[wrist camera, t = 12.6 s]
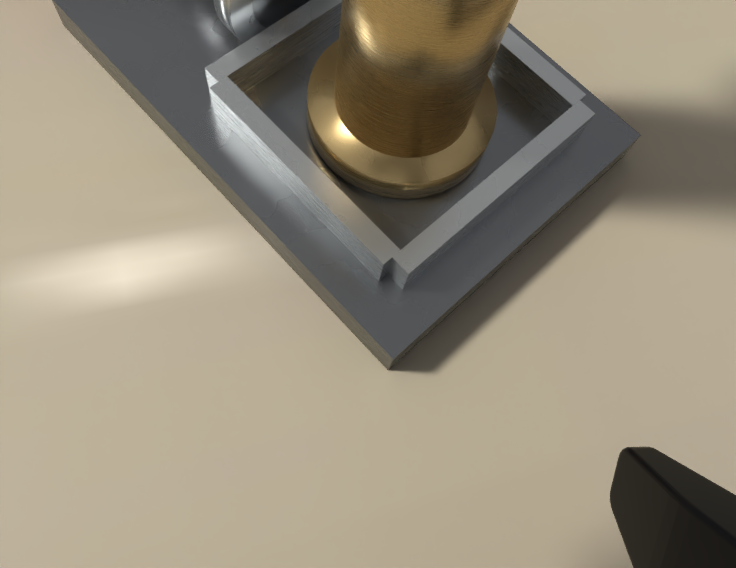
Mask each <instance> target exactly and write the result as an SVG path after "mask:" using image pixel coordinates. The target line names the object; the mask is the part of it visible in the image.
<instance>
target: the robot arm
mask: <svg viewBox="0 0 736 568" xmlns="http://www.w3.org/2000/svg"><path fill="white" fill-rule="evenodd" d="M610 503H611V508H612V511H613V514H614V516H615V519H616V522H617V524H618V527H619V530H620V533H621V535H622V538H623V541H624V543H625V546H626V549H627V552H628V554H629V557H630V560H631V562H632V565H633V568H736V495H734V494H733V493H731V492H729V491H727V490H726V489H724V488H722V487H720V486H719V485H717V484H715V483H713V482H712V481H710V480H708V479H707V478H705V477H703V476H701V475H700V474H698V473H696V472H694V471H693V470H691V469H689V468H687V467H686V466H684V465H682V464H680V463H679V462H677V461H675V460H673V459H672V458H670V457H668V456H667V455H665V454H663V453H661V452H660V451H658V450H656V449H654V448H652V447H627V448H625V449H623V450H622V451H621V453H620V455H619V458H618V462H617V466H616V470H615V474H614V478H613V482H612V486H611V491H610Z"/></svg>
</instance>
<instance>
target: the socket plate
mask: <svg viewBox="0 0 736 568" xmlns="http://www.w3.org/2000/svg"><path fill="white" fill-rule="evenodd" d="M52 1H53V3H54V5H55V8H56V10H57V12H58V14H59V16H60V18H61V20H62V23H63V25H64V26H65V27H66V28H67V29H68V30H69V31H70V32H71V34H72V35H73V36H74V37H75V38H76V39H77V40H78V41H79V42H80V43H81V44H82V45H83V46H84V47H85V48H86V49H87V51H88V52H89V53H90V54H91V55H92V56H93V57H94V58H95V59H96V60H97V61H98V62H99V63H100V64H101V65H102V67H103V68H104V69H105V70H106V71H107V72H108V73H109V74H110V75H111V76H112V77H113V78H114V79H115V80H116V81H117V82H118V84H119V85H120V86H121V87H122V88H123V89H124V90H125V91H126V92H127V93H128V94H129V95H130V96H131V97H132V98H133V99H134V101H135V102H136V103H137V104H138V105H139V106H140V107H141V108H142V109H143V110H144V111H145V112H146V113H147V114H148V115H149V116H150V118H151V119H152V120H153V121H154V122H155V123H156V124H157V125H158V126H159V127H160V128H161V129H162V130H163V131H164V132H165V134H166V135H167V136H168V137H169V138H170V139H171V140H172V141H173V142H174V143H175V144H176V145H177V146H178V147H179V148H180V149H181V151H182V152H183V153H184V154H185V155H186V156H187V157H188V158H189V159H190V160H191V161H192V162H193V163H194V164H195V165H196V166H197V168H198V169H199V170H200V171H201V172H202V173H203V174H204V175H205V176H206V177H207V178H208V179H209V180H210V181H211V182H212V183H213V185H214V186H215V187H216V188H217V189H218V190H219V191H220V192H221V193H222V194H223V195H224V196H225V197H226V198H227V199H228V200H229V202H230V203H231V204H232V205H233V206H234V207H235V208H236V209H237V210H238V211H239V212H240V213H241V214H242V215H243V216H244V218H245V219H246V220H247V221H248V222H249V223H250V224H251V225H252V226H253V227H254V228H255V229H256V230H257V231H258V232H259V233H260V235H261V236H262V237H263V238H264V239H265V240H266V241H267V242H268V243H269V244H270V245H271V246H272V247H273V248H274V249H275V250H276V252H277V253H278V254H279V255H280V256H281V257H282V258H283V259H284V260H285V261H286V262H287V263H288V264H289V265H290V266H291V267H292V269H293V270H294V271H295V272H296V273H297V274H298V275H299V276H300V277H301V278H302V279H303V280H304V281H305V282H306V283H307V285H308V286H309V287H310V288H311V289H312V290H313V291H314V292H315V293H316V294H317V295H318V296H319V297H320V298H321V299H322V300H323V302H324V303H325V304H326V305H327V306H328V307H329V308H330V309H331V310H332V311H333V312H334V313H335V314H336V315H337V316H338V317H339V319H340V320H341V321H342V322H343V323H344V324H345V325H346V326H347V327H348V328H349V329H350V330H351V331H352V332H353V333H354V334H355V336H356V337H357V338H358V339H359V340H360V341H361V342H362V343H363V344H364V345H365V346H366V347H367V348H368V349H369V350H370V352H371V353H372V354H373V355H374V356H375V357H376V358H377V359H378V360H379V361H380V362H381V363H382V364H383V365H384V366H385V367H386V369H387V370H388V369H390V368H391V367H392V366H393V365H394V364H395V363H396V362H397V361H398V360H399V359H401V358H402V357H403V356H404V355H405V354H406V353H407V352H408V351H409V350H410V349H412V348H413V347H414V346H415V345H416V344H417V343H418V342H419V341H420V340H421V339H423V338H424V337H425V336H426V335H427V334H428V333H429V332H430V331H431V330H432V329H434V328H435V327H436V326H437V325H438V324H439V323H440V322H441V321H442V320H443V319H445V318H446V317H447V316H448V315H449V314H450V313H451V312H452V311H453V310H454V309H456V308H457V307H458V306H459V305H460V304H461V303H462V302H463V301H464V300H465V299H467V298H468V297H469V296H470V295H471V294H472V293H473V292H474V291H475V290H476V289H478V288H479V287H480V286H481V285H482V284H483V283H484V282H485V281H486V280H487V279H489V278H490V277H491V276H492V275H493V274H494V273H495V272H496V271H497V270H498V269H500V268H501V267H502V266H503V265H504V264H505V263H506V262H507V261H508V260H509V259H511V258H512V257H513V256H514V255H515V254H516V253H517V252H518V251H519V250H520V249H522V248H523V247H524V246H525V245H526V244H527V243H528V242H529V241H530V240H531V239H533V238H534V237H535V236H536V235H537V234H538V233H539V232H540V231H541V230H542V229H544V228H545V227H546V226H547V225H548V224H549V223H550V222H551V221H552V220H553V219H555V218H556V217H557V216H558V215H559V214H560V213H561V212H562V211H563V210H564V209H566V208H567V207H568V206H569V205H570V204H571V203H572V202H573V201H574V200H575V199H577V198H578V197H579V196H580V195H581V194H582V193H583V192H584V191H585V190H586V189H588V188H589V187H590V186H591V185H592V184H593V183H594V182H595V181H596V180H597V179H599V178H600V177H601V176H602V175H603V174H604V173H605V172H606V171H607V170H608V169H610V168H611V167H612V166H613V165H614V164H615V163H616V162H617V161H618V160H619V159H621V158H622V157H623V156H624V155H625V154H626V152H627V151H628V150H629V149H630V147H631V146H632V145H633V144H634V143H635V141H636V140H637V139H638V138H639V137H640V134H639V133H637V132H636V131H635V130H634V129H633V128H632V127H630V126H629V125H628V124H627V123H626V122H625V121H623V120H622V119H621V118H620V117H619V116H618V115H616V114H615V113H614V112H613V111H612V110H611V109H609V108H608V107H607V106H606V105H605V104H604V103H602V102H601V101H600V100H599V99H598V98H597V97H595V96H594V95H593V94H592V93H591V92H590V91H588V90H587V89H586V88H585V87H584V86H583V85H581V84H580V83H579V82H578V81H577V80H576V79H574V78H573V77H572V76H571V75H570V74H569V73H567V72H566V71H565V70H564V69H563V68H561V67H560V66H559V65H558V64H557V63H556V62H554V61H553V60H552V59H551V58H550V57H549V56H547V55H546V54H545V53H544V52H543V51H542V50H540V49H539V48H538V47H537V46H536V45H535V44H533V43H532V42H531V41H530V40H529V39H528V38H526V37H525V36H524V35H523V34H522V33H521V32H519V31H518V30H517V29H516V28H515V27H514V26H512V25H511V24H510V23H509V24H508V26H507V29H506V31H505V34H504V36H503V39H502V41H501V44H500V46H499V48H498V51H497V53H496V56H495V58H494V61H493V63H492V66H491V68H490V71H489V73H488V77H489V79H490V81H491V83H492V86H493V88H494V92H495V96H496V101H497V120H496V124H495V128H494V132H493V134H492V136H491V139H490V141H489V143H488V145H487V147H486V149H485V152H484V154H483V156H482V158H481V159H480V161H479V163H478V164H477V166H476V167H475V168H474V169H473V171H472V172H471V173H470V174H469V175H468V176H467V177H466V178H464V179H463V180H462V181H461V182H459V183H458V184H456V185H455V186H453V187H451V188H449V189H447V190H445V191H443V192H440V193H437V194H434V195H431V196H426V197H420V198H407V199H405V198H391V197H386V196H380V195H377V194H374V193H370V192H367V191H365V190H363V189H360V188H358V187H356V186H354V185H353V184H351V183H349V182H347V181H346V180H344V179H343V178H342V177H340V176H339V175H338V174H336V173H335V172H334V171H333V170H332V169H331V168H330V167H329V166H328V165H327V164H326V163H325V161H324V160H323V159H322V158H321V156H320V155H319V153H318V151H317V150H316V148H315V146H314V144H313V142H312V139H311V137H310V133H309V129H308V124H307V92H308V83H309V78H310V75H311V72H312V70H313V67H314V65H315V64H316V62H317V60H318V59H319V57H320V56H321V55H322V53H323V52H324V51H325V50H326V49H327V48H328V47H329V46H330V45H331V44H332V43H334V42H335V41H336V40H338V39H339V31H340V20H341V8H342V0H52Z"/></svg>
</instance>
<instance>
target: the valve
mask: <svg viewBox="0 0 736 568" xmlns="http://www.w3.org/2000/svg"><path fill="white" fill-rule="evenodd" d="M517 2H518V0H342V8H341V20H340V31H339V39H338V40H336V41H335V42H334V43H332V44H331V45H330V46H329V47H328V48H327V49H326V50H325V51H324V52H323V53H322V55H321V56H320V57H319V59H318V60H317V62H316V64H315V65H314V67H313V70H312V72H311V75H310V78H309V83H308V92H307V124H308V129H309V133H310V137H311V139H312V142H313V144H314V146H315V148H316V150H317V151H318V153H319V155H320V156H321V158H322V159H323V160H324V161H325V163H326V164H327V165H328V166H329V167H330V168H331V169H332V170H333V171H334V172H335V173H336V174H338V175H339V176H340V177H342V178H343V179H344V180H346V181H347V182H349V183H351V184H353V185H354V186H356V187H358V188H360V189H363V190H365V191H367V192H370V193H374V194H377V195H380V196H386V197H391V198H405V199H407V198H420V197H426V196H431V195H434V194H437V193H440V192H443V191H445V190H447V189H449V188H451V187H453V186H455V185H456V184H458V183H459V182H461V181H462V180H463V179H464V178H466V177H467V176H468V175H469V174H470V173H471V172H472V171H473V169H474V168H475V167H476V166H477V164H478V163H479V161H480V159H481V158H482V156H483V154H484V152H485V149H486V147H487V145H488V143H489V141H490V139H491V136H492V134H493V132H494V128H495V124H496V120H497V101H496V96H495V92H494V88H493V86H492V83H491V81H490V79H489V77H488V73H489V71H490V68H491V66H492V63H493V61H494V58H495V56H496V53H497V51H498V48H499V46H500V44H501V41H502V39H503V36H504V34H505V31H506V29H507V26H508V24H509V21H510V19H511V17H512V14H513V12H514V9H515V7H516V4H517Z"/></svg>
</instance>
